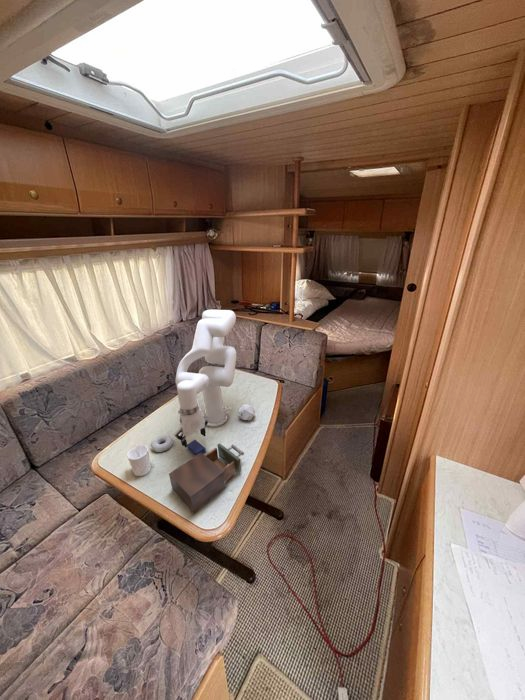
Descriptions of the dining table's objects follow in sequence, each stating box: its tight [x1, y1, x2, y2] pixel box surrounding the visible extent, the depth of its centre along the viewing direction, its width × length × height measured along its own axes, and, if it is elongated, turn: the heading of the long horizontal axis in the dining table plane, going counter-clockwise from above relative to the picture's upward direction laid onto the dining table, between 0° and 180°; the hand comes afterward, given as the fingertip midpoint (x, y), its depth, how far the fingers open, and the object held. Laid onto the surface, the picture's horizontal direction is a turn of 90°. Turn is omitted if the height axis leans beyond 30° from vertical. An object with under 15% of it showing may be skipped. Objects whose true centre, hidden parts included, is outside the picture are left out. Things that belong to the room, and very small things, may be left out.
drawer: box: [204, 442, 245, 482], centre depth 113 cm, size 18×14×7 cm
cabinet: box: [168, 452, 226, 514], centre depth 105 cm, size 15×15×9 cm
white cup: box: [126, 444, 152, 477], centre depth 115 cm, size 8×8×10 cm
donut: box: [150, 434, 174, 453], centre depth 129 cm, size 10×4×10 cm
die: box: [237, 403, 256, 421], centre depth 145 cm, size 8×9×10 cm
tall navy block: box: [187, 439, 207, 457], centre depth 125 cm, size 8×4×3 cm, turn 46°
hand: (194, 440), depth 123 cm, fingers open, 9 cm apart
